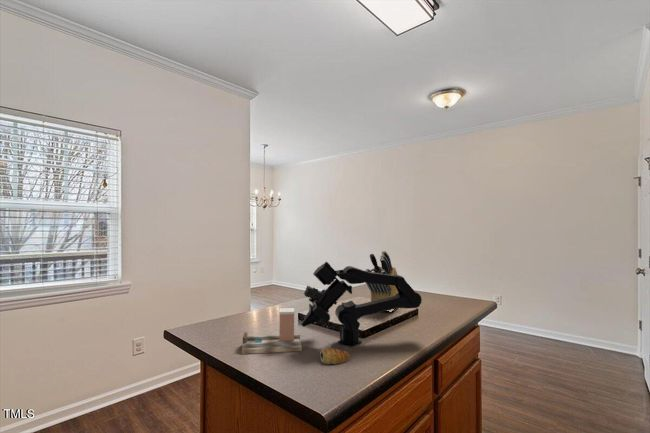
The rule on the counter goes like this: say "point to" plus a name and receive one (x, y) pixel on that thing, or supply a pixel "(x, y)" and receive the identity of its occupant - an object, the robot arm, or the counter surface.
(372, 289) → the knife block
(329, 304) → the robot arm
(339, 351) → the pastry
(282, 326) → the pink tall block
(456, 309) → the counter surface
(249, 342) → the track
